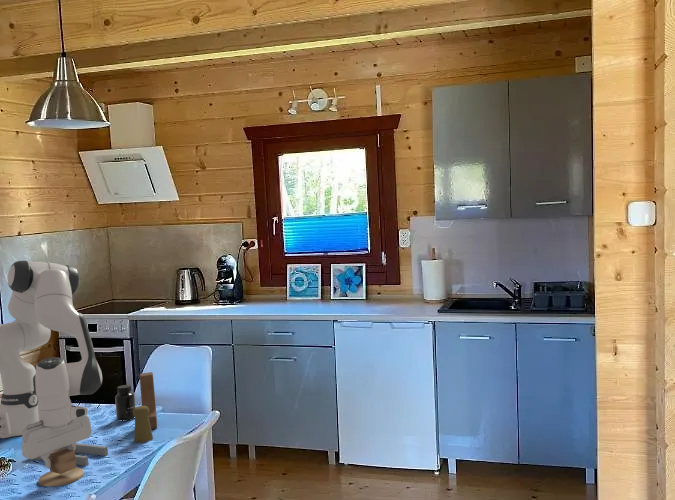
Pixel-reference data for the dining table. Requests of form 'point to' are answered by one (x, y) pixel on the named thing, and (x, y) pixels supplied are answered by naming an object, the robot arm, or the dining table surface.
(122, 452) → the dining table surface
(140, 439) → the pepper shaker
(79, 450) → the channel
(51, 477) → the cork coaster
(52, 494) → the dining table surface
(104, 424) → the dining table surface
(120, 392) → the supplement bottle
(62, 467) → the walnut block
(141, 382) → the wooden block
